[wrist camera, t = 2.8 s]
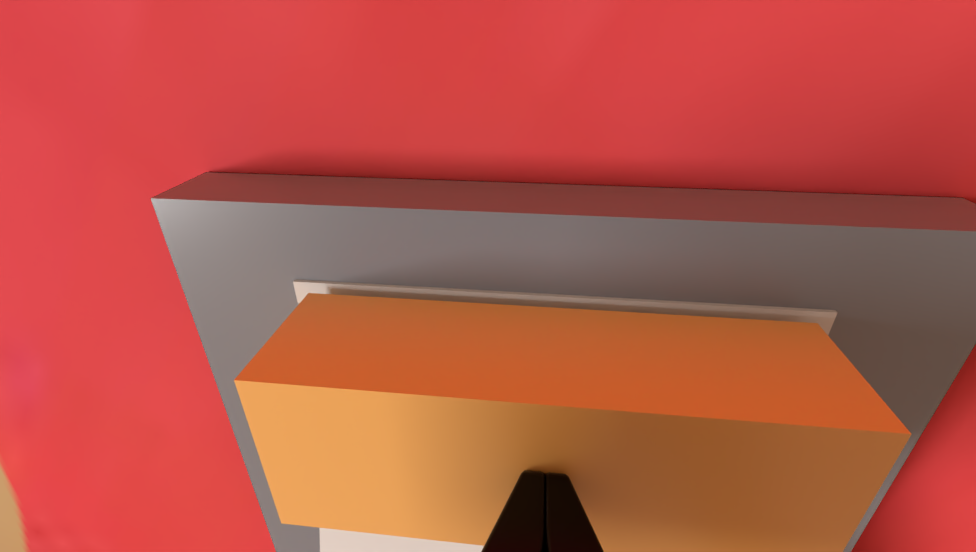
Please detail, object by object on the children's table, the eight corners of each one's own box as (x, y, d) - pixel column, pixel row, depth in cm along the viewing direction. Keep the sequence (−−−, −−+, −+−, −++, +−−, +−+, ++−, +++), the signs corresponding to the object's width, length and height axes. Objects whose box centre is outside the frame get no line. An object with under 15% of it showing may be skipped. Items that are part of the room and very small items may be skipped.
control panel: (962, 197, 11) (1165, 291, 7) (727, 672, 21) (763, 805, 18) (206, 172, 13) (68, 236, 9) (336, 621, 23) (297, 732, 20)
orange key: (817, 323, 10) (911, 434, 7) (764, 457, 12) (824, 582, 9) (308, 292, 11) (234, 379, 8) (335, 420, 13) (281, 523, 10)
